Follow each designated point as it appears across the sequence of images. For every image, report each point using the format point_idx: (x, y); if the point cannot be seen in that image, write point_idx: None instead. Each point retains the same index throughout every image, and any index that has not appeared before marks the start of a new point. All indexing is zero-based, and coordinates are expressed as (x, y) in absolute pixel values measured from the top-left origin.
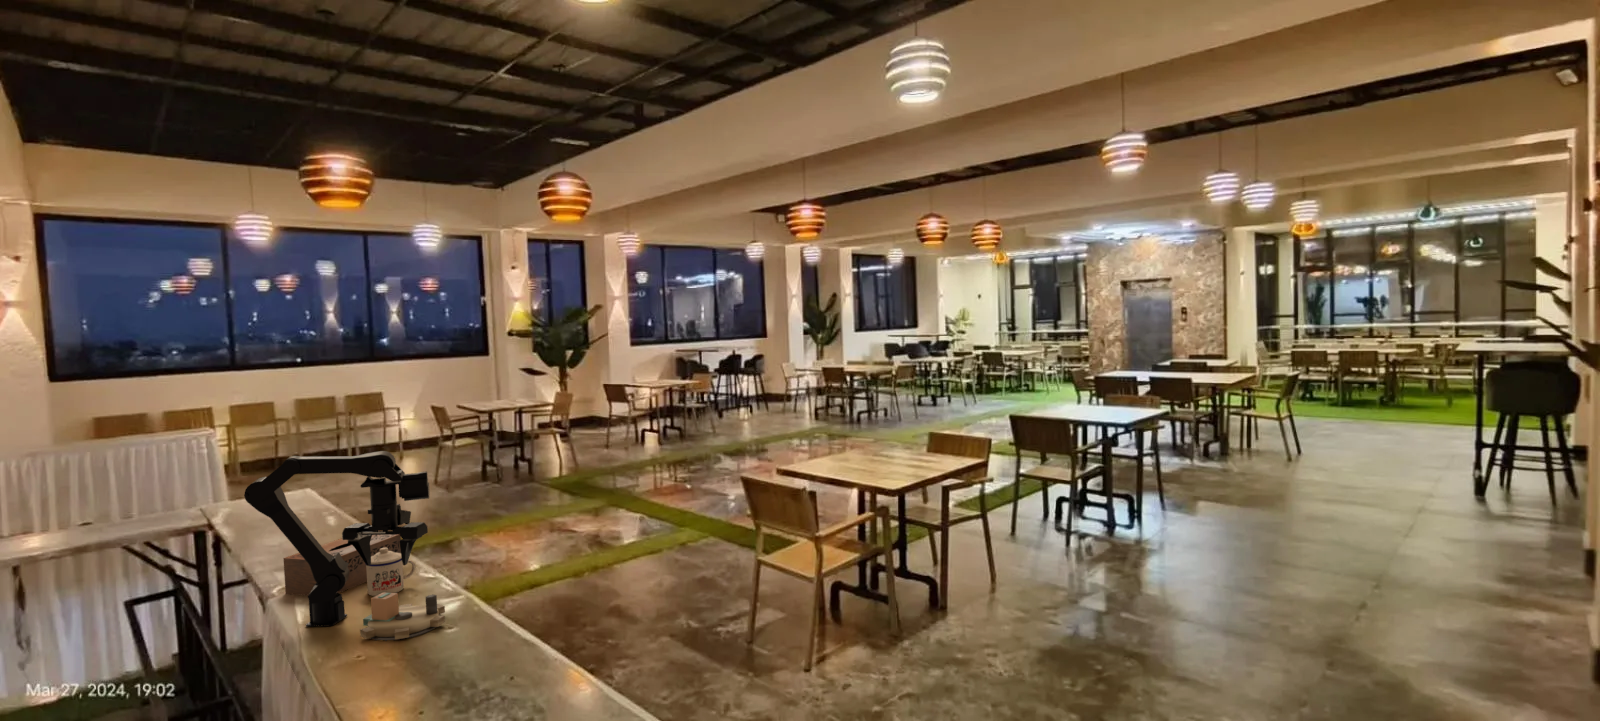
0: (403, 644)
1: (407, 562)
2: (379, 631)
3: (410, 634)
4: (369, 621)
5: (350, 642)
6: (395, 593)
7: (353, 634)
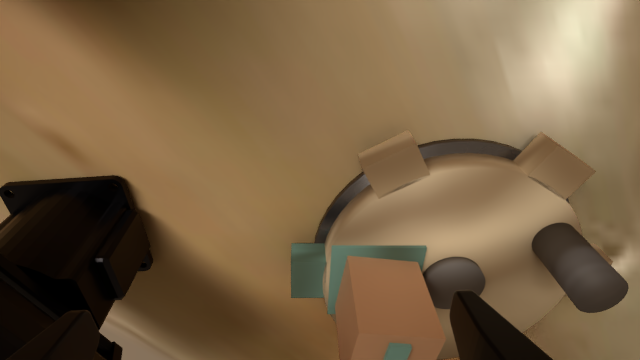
0: None
1: (480, 298)
2: None
3: None
4: (333, 313)
5: (321, 345)
6: (434, 340)
7: (289, 305)
